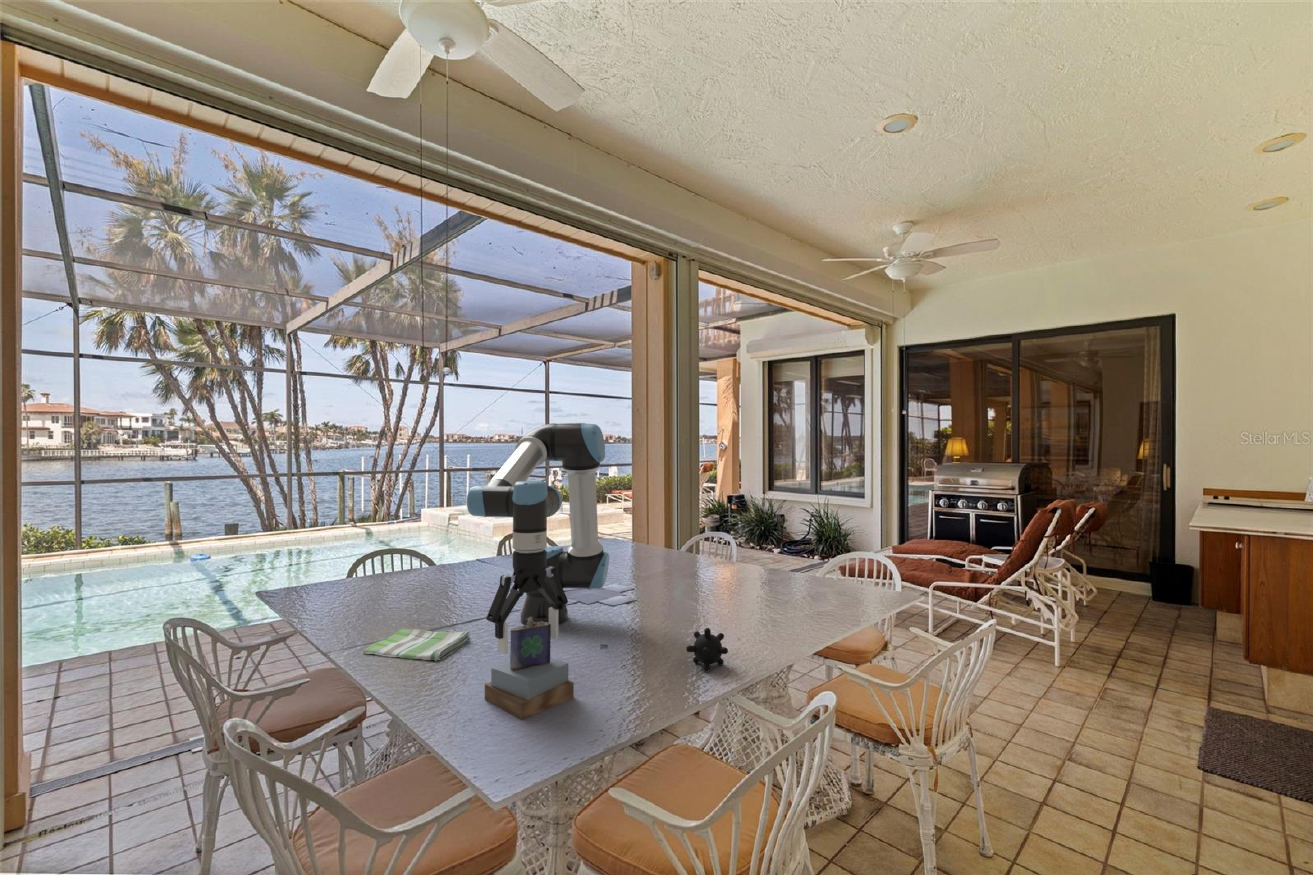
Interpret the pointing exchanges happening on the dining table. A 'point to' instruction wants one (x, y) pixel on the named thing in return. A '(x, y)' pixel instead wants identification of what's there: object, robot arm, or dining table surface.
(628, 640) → the dining table surface
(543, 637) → the flask
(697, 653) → the toy ball
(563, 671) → the tower top block
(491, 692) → the tower base block
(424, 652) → the dish towel
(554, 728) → the dining table surface
